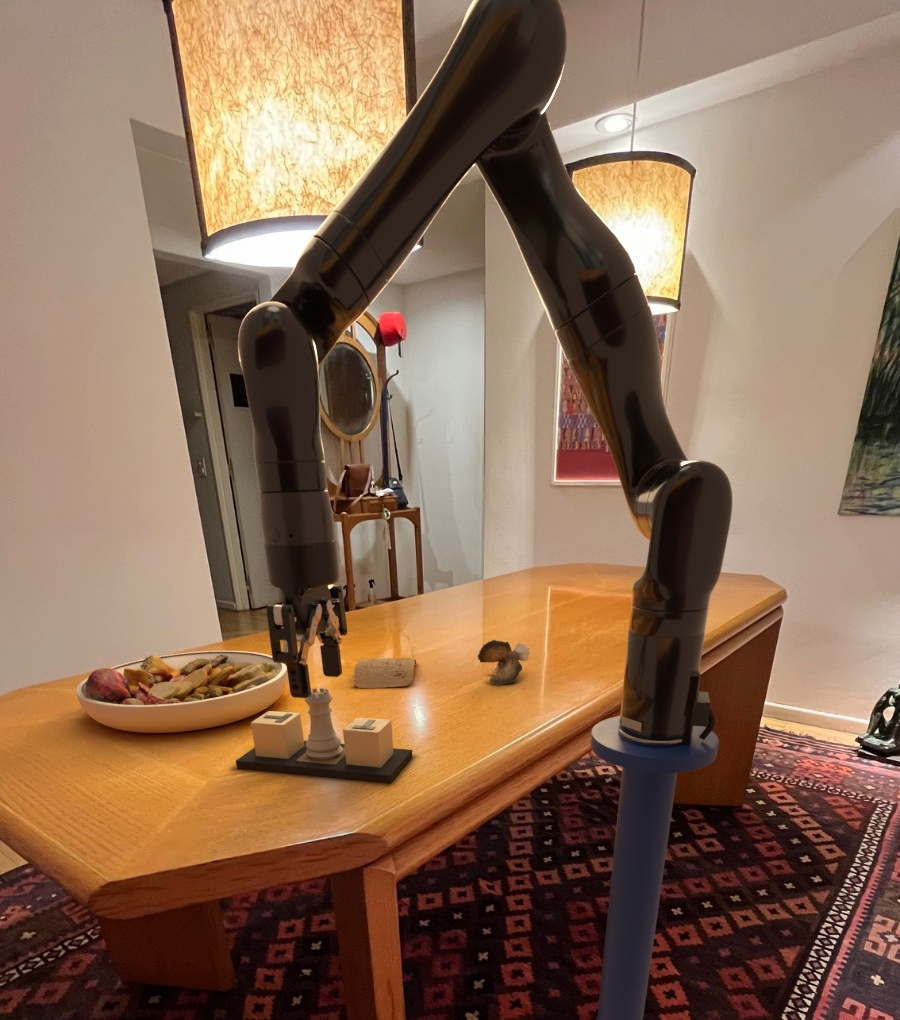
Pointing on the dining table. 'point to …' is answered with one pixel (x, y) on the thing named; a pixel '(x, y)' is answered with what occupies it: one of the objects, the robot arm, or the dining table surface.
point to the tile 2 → (368, 742)
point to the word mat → (327, 765)
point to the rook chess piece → (321, 727)
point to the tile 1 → (277, 734)
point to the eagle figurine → (504, 660)
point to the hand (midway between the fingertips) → (318, 685)
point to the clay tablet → (383, 672)
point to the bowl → (182, 691)
